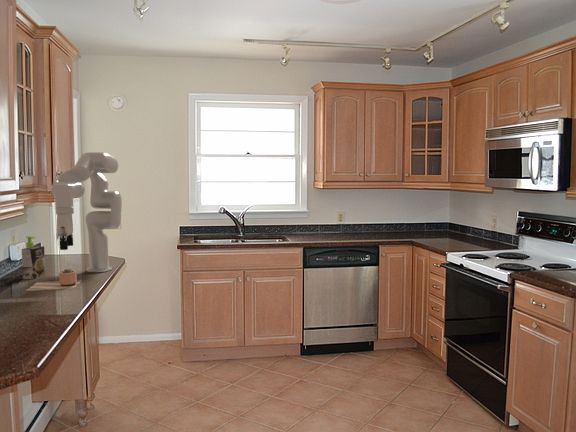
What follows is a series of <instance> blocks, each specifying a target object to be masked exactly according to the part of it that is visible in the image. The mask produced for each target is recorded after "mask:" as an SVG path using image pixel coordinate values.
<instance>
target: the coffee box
mask: <svg viewBox="0 0 576 432" xmlns="http://www.w3.org/2000/svg"><path fill="white" fill-rule="evenodd" d="M45 253H46V252H45V246H44V245H43V246H39V245H38V246H37V245H36V246H35V245H34V246H33V247H28V248H26V247H25V248H22V249H21V268H22V279H23V280H24V279H25V280H36V279H38V278H39V279H40V278H42V277H46V276H47V275H46V274H47V273H46V258H45Z"/></svg>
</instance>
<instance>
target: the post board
mask: <svg viewBox="0 0 576 432" xmlns="http://www.w3.org/2000/svg"><path fill="white" fill-rule="evenodd" d="M71 270H72V269H70V268H69V269H68V268H67V269H64V273H71ZM81 282H82V280H77V282H76V283H74V284H68V285H62V284H59V280H57V281H55V280H54V281H37V282H35V283H34V284H33V285H31V286H30V287H28V288H27V289H26V290H25V291H28V292H29V291H53V290H73V289H75V287H77V286H78V285H79V284H80V283H81Z"/></svg>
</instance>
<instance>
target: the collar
mask: <svg viewBox="0 0 576 432" xmlns="http://www.w3.org/2000/svg"><path fill="white" fill-rule="evenodd" d="M77 272H78V271H77V270H73V269H71V273H64V271H60V272H59V273H58V281H59V284H62V285H68V284H74V283H76V282H77V281H78V277H77V276H78V275H77V274H78V273H77Z"/></svg>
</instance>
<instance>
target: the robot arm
mask: <svg viewBox="0 0 576 432" xmlns="http://www.w3.org/2000/svg"><path fill="white" fill-rule="evenodd" d="M118 169H119V162H118V159H117V158H116V157H115V156H113V155H111V154H109V153H107V152H103V151H100V152H95V151H94V152H92V151H91V152H85V153H83V154H81V156H80V157H79V159H78V160H77V162H76V163H75V165H74V166H73V167H72V168H70V169H68V170H66V171H64V172H62V173H61V174H59V175H58V176H57V177H56V178H55V180H54V181H53V182H52V185H51V189H50V192H51V194H52V196H53V197H54V203H55V204H54V207H55V215H56V235H57V237H58V238H59V241H58V242H59V250H60V251H67V250H68V247H73V246H74V237H73V236H74V234H73V233H74V223H73V222H74V221H73V214H74V213H75V211H74V209H75V208H74V199H78V198H81V197H83V196H84V195H85V191H86V189H85V186H84V184H82V183H83V182H85V181H87V180H89V179H90V183H91V184H90V186H91V187H90V200H89V201H90V202H89V203H90V207H91V208H93V209H97V210H93V211H90V212H88V213H87V214H86V216H85V224H86V228H87V236H88V238H87V239H88V254H89V255H88V259H89V267H87V268H86V271H87V273H88V272H89V273H105V272H109V271H112V269H113V267H112V266H111V265H110V263H109V262H110V261H109V242H108V241H109V239H108V235H107V233H106V231H104V230H117V229H119V228H120V225H121V221H122V204H123V203H122V202H123V201H122V195H121V193H120V192H119V191H116V190H109V182H108V179H107V178H106V177H105V176H104V174H115V173H117V171H118ZM81 182H82V183H81ZM98 209H101V210H98Z"/></svg>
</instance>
